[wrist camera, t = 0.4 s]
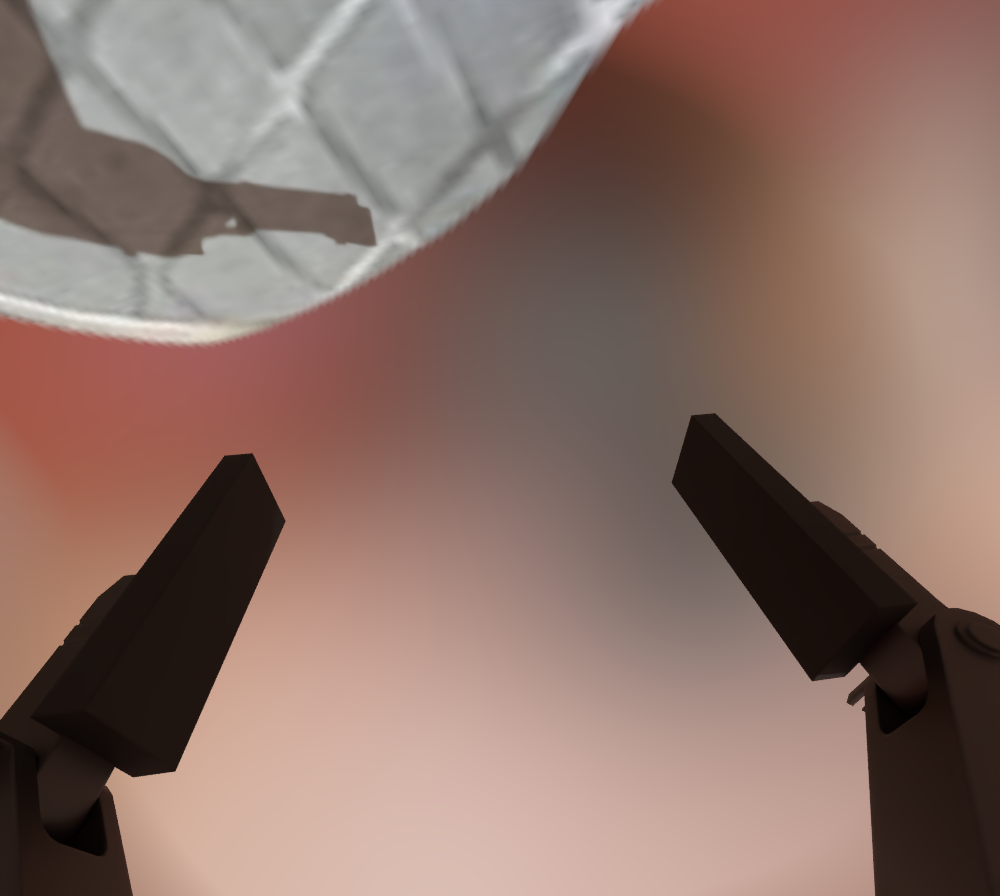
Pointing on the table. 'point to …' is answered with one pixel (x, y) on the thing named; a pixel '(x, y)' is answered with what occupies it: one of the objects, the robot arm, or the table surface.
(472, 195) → the table surface
